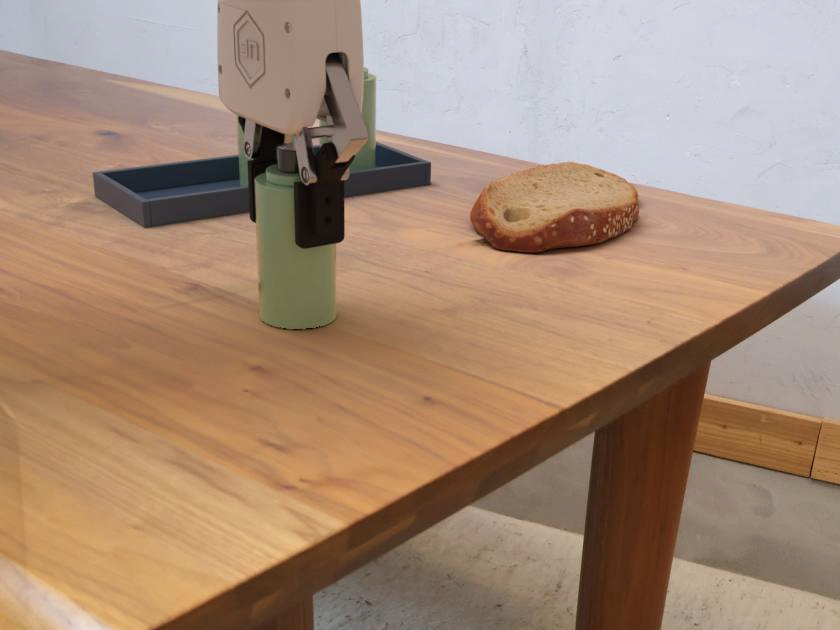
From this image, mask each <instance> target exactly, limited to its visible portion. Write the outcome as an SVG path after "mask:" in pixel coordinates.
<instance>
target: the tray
mask: <svg viewBox="0 0 840 630" xmlns="http://www.w3.org/2000/svg"><path fill="white" fill-rule="evenodd" d="M313 149H314V155H316V154H317V152H318V151H319V149H320V144H316V145H313ZM431 179H432V162H431V161H429V160H426V159H423V158H421V157H418V156H415V155H413V154H410V153H408V152H404V151H402V150H399V149H397V148H394V147H391V146H389V145H386V144H384V143H382V142H379V141H376V167H375V168H372V169H365V170H358V171H350V174H349V178H348V179H347V180H344V199H346V198H348V199H349V198H353V197H360V196H367V195H368V196H369V195H372V194H373V195H375V194H381V193H388V192H394V191H400V190H405V189H406V190H408V189H413V188H420V187H427V186H431V183H432V180H431ZM92 180H93V190H94V196H95V198H97V199H98V200H99V201H101V202H103V203H104V204H106V205H107V206H109V207H110V208H112V209H113V210H115V211H117V212H118V213H120V214H121V215H123V216H124V217H126V218H128V219H130V221H132V222H134V223H136V224H137V225H139V226H140V227H142V228H144V229H148V228H155V227H162V226H169V225H176V224H181V223H188V222H194V221H202V220H208V219H214V218H221V217H228V216H235V215H241V214H247V213H249V214H250V212H249V188H248V186H241V187H240V181H239V159H238V154H233V155H225V156H217V157H209V158H199V159H192V160H182V161H174V162H166V163H158V164H150V165H142V166H135V167H126V168H116V169H107V170H100V171H92Z"/></svg>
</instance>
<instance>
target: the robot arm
mask: <svg viewBox="0 0 840 630" xmlns="http://www.w3.org/2000/svg"><path fill="white" fill-rule="evenodd" d="M216 15H217V16H216V17H217V18H216V20H217V23H216V26H217V27H216V30H217V31H216V33H217V35H216V37H217V38H216V39H217V41H216V42H217V43H216V44H217V48H216V49H217V53H216V54H217V84H218V85H217V86H218V96H219V97H218V98H219V100H220V102H221V103H222V105H223V106H224V107H225V108H226V109H227V110H228V111H230V112H231V113H232V114H234V115H235V116H237V115H239V117H238V122H239V124H240V125H241V128H242V130H243V132H244V142H243V150H244V154H245V156H246V158H248V159H254V160H249V161H247V164H248V188H249V220H250V221H251V222H252V223H254V224H256V212H255V186H254V179H255V177H256V176H258V175H260V174H262V173H265V170H266V168H267V167H269V166H271V165H274V164H277V156H276V147H277V146H278V145H280V144H284V143H291V138H292V135H294V141H295V147H296V154H297V160H298V166H299V172H300V178H301V181H299V182H294V214H295V243H296V245H297V246H299V247H301V248H303V249H307V248H313V247H318V246H324V245H330V244H335V243H336V244H340V243H342V242H343V241H344V240H345V235H346V234H345V231H346V230H345V229H346V228H345V225H346V224H345V223H346V222H345V198H344V180H347V179H348V178H349V174H350V170H349V166H350V164H351V163H352V162H353V160H354V158H355V155H356V154H357V153H358V151H359V150H360V149H361V148H362V147H363V146H364V145H365V144H366V142H367V141H368V132H367V128H366V126H365V123H364V120H363V118H362V115H361V113H362V105H363V89H364V67H365V66H364V61H365V59H364V38H363V20H362V19H363V18H362V17H363V16H362V3H361V0H217V14H216ZM316 120H318V121H319V120H322V121H324V122H327V126H320V127H319V126H314V124H315V122H316ZM323 137H327V141H328V143H323V144H322V146H321V147H320V149H319V151H318V152H317V154H316V155H314V149H313V146H314V144H313V140H315V139H319V138H323Z"/></svg>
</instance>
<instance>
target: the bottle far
mask: <svg viewBox="0 0 840 630" xmlns="http://www.w3.org/2000/svg"><path fill="white" fill-rule="evenodd" d="M361 115H362V118H363V120H364V123H365V126H366V128H367V132H368V141H367V142H366V144H365V145H364V146H363V147H362V148H361V149H360V150H359V151H358V153H357V154H356V155H355V158H354V160H353V162H352V163H351V164H350V166H349V170H350V171H358V170H365V169H372V168H375V167H376V142H377V76H376V74H372V73H369V68H367V67H365V66H364V89H363V105H362V113H361ZM318 123H319V124H318V127H320V126H327V122H324V121H322V120H319V119H318ZM318 139H319V140H318V141H319V144H318V145H320V147H321V146H322V144H323V143H328V141H327V137H323V138H318Z"/></svg>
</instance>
